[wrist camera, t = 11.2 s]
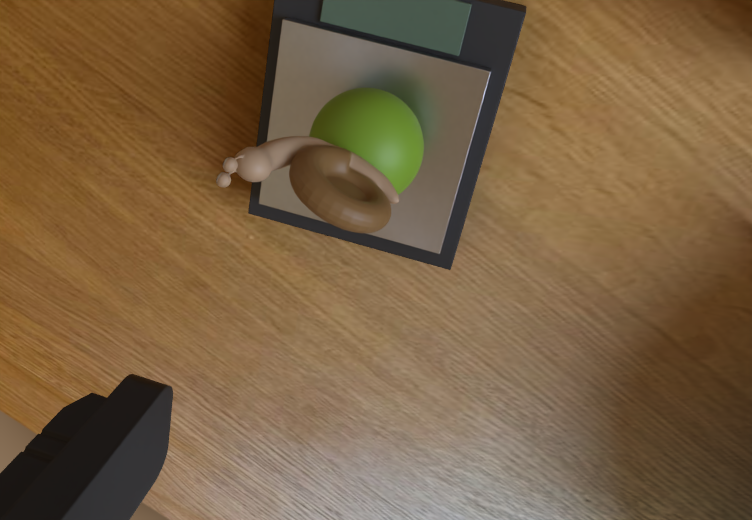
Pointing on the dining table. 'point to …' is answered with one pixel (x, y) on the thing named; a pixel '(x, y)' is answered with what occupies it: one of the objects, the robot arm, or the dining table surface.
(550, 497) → the dining table surface
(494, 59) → the scale
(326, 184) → the snail figurine
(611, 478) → the dining table surface
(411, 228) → the scale platter
